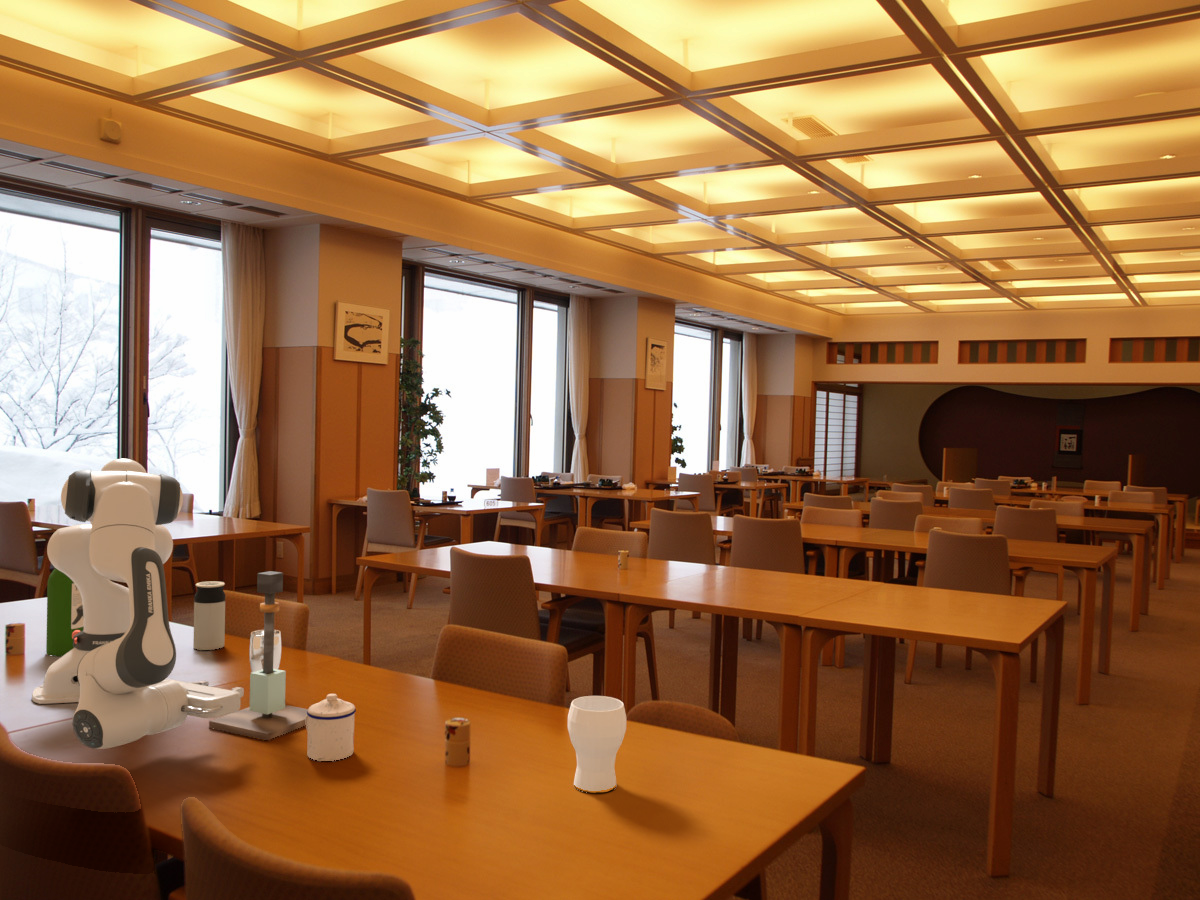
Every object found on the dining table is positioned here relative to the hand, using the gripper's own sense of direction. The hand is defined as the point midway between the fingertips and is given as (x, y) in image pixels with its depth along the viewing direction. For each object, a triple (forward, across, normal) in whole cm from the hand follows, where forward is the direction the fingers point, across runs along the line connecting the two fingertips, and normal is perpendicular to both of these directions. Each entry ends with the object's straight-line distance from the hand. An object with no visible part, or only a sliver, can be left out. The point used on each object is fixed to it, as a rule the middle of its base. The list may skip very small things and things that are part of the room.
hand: (223, 688), depth 183 cm
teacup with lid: (+5, -22, +11) cm, 25 cm away
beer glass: (+26, +15, +10) cm, 32 cm away
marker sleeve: (+12, 0, +8) cm, 14 cm away
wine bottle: (+29, +89, +10) cm, 94 cm away
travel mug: (+52, +62, +10) cm, 82 cm away
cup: (+16, -75, +12) cm, 77 cm away
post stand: (+12, 0, +10) cm, 16 cm away
